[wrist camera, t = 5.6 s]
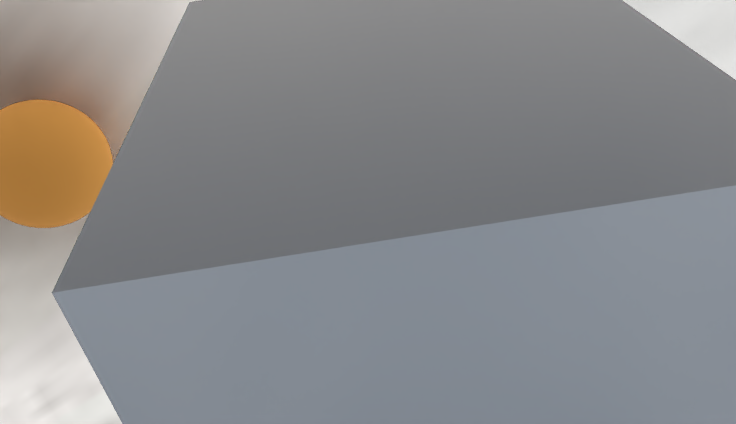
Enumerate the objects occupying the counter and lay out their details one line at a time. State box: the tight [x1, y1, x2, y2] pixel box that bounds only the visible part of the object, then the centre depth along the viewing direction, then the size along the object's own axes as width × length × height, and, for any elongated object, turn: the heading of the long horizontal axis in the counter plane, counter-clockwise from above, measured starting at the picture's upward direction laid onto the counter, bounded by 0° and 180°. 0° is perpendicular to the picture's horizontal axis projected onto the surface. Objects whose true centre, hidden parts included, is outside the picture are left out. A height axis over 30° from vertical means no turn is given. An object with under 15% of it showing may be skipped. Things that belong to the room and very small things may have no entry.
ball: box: [0, 99, 113, 228], centre depth 25 cm, size 5×5×5 cm
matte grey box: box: [52, 0, 736, 424], centre depth 13 cm, size 7×12×9 cm, turn 7°
